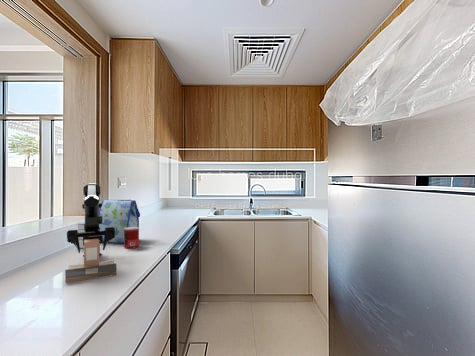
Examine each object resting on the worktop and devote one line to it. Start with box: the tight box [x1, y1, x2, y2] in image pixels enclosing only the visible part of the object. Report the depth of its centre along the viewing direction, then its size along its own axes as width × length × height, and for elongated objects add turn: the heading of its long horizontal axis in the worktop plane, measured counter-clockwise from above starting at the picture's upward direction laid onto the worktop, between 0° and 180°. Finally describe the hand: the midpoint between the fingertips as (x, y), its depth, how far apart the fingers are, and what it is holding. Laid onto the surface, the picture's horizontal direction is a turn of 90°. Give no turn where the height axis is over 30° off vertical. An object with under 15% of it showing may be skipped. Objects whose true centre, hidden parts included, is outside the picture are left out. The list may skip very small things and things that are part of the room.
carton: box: [83, 239, 100, 267], centre depth 123 cm, size 6×6×12 cm
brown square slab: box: [64, 259, 117, 283], centre depth 123 cm, size 18×18×4 cm
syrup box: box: [76, 221, 85, 249], centre depth 169 cm, size 6×6×14 cm
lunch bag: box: [98, 199, 141, 244], centre depth 185 cm, size 22×17×26 cm
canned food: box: [123, 226, 140, 249], centre depth 168 cm, size 8×8×11 cm
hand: (91, 251), depth 123 cm, fingers open, 9 cm apart
